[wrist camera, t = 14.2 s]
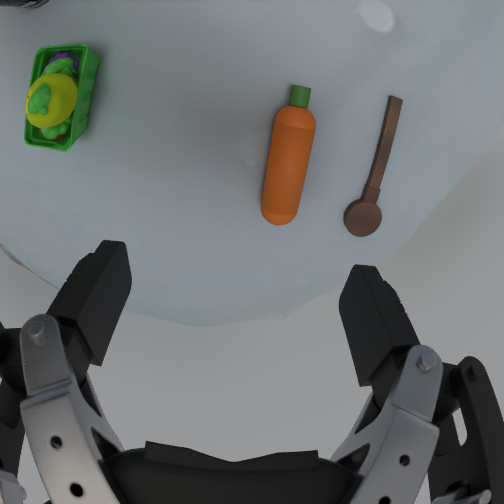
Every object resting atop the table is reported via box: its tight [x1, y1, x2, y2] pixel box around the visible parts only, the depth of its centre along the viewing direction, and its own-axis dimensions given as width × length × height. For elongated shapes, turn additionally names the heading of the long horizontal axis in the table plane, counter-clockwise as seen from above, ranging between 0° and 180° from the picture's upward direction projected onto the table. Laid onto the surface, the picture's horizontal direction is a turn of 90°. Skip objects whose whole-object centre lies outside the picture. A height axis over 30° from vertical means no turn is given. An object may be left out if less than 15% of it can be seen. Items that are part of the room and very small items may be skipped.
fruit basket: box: [24, 44, 100, 151], centre depth 18 cm, size 11×9×11 cm
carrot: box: [261, 85, 316, 225], centre depth 26 cm, size 15×4×4 cm, turn 172°
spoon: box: [344, 96, 403, 237], centre depth 28 cm, size 18×5×1 cm, turn 172°
